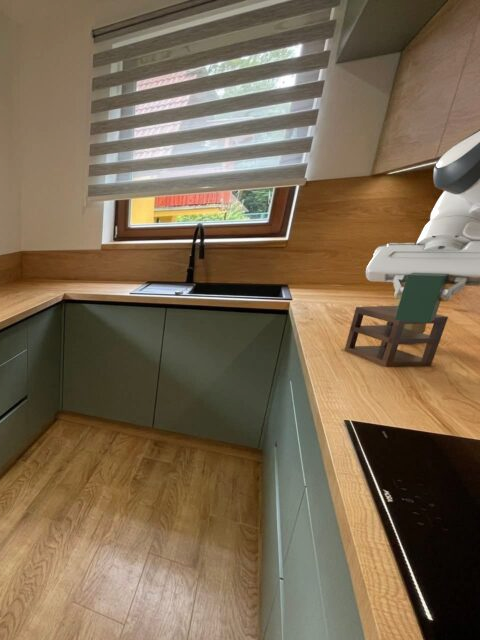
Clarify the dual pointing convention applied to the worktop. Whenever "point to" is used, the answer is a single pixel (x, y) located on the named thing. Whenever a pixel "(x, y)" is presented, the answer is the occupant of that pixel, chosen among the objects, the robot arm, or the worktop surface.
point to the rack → (393, 338)
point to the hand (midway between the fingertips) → (420, 298)
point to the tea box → (421, 297)
